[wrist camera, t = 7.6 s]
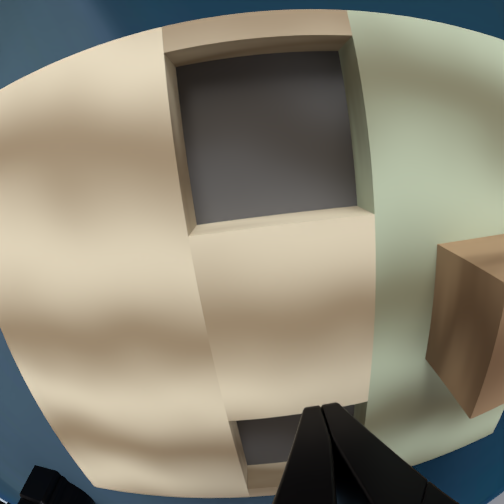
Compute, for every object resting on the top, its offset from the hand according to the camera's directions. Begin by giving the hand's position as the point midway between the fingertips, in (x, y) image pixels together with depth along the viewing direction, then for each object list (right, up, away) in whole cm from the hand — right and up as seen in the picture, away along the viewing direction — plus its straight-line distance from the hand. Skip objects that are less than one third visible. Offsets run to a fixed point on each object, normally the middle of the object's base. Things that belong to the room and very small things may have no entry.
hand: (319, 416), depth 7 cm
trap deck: (0, +2, +6) cm, 6 cm away
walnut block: (+8, +2, +4) cm, 9 cm away
